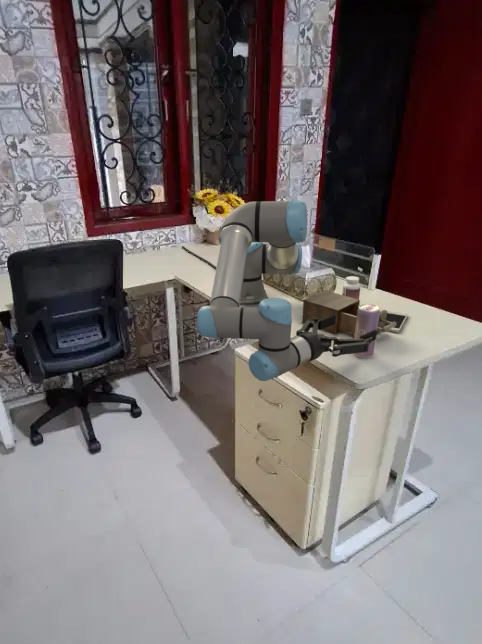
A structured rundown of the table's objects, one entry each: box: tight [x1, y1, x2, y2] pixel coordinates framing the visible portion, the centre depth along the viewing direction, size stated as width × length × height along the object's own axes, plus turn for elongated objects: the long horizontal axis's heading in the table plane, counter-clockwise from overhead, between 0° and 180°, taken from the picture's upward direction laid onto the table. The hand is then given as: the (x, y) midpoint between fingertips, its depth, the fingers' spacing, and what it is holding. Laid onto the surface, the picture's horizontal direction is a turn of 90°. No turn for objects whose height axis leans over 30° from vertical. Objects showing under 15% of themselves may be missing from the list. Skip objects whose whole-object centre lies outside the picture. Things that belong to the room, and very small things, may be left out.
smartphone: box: [385, 310, 409, 333], centre depth 143 cm, size 7×16×1 cm, turn 146°
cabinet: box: [301, 290, 361, 336], centre depth 144 cm, size 14×13×9 cm
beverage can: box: [353, 303, 381, 359], centre depth 121 cm, size 6×6×15 cm
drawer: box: [338, 304, 397, 336], centre depth 134 cm, size 17×12×7 cm
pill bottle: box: [341, 275, 361, 300], centre depth 157 cm, size 6×6×11 cm
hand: (354, 326), depth 117 cm, fingers open, 13 cm apart
